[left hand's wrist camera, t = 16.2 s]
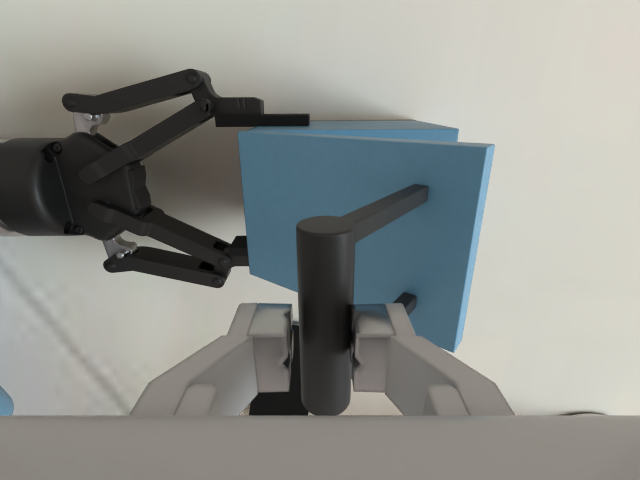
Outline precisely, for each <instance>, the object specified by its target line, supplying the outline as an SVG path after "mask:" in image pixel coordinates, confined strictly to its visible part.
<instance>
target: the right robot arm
mask: <svg viewBox="0 0 640 480" xmlns="http://www.w3.org/2000/svg"><path fill="white" fill-rule="evenodd" d="M190 93H192V95H193V97H194V100H195V102H193V103H192V104H190V105H189V106H187V107H185V108H184V109H182V110H180V111H179V112H177V113H175V114H174V115H172V116H171V117H169V118H167V119H166V120H164V121H162V122H161V123H159V124H157V125H156V126H154V127H152V128H151V129H149V130H148V131H146V132H144V133H143V134H141V135H139V136H138V137H136V138H134V139H133V140H131V141H129V142H127V143H125V144H123V145H121V146H117V145H116V144H114V143H113V142H111V141H110V140H108V139H106V138H105V137H103V136H102V135H100V134H99V133H97V127H98V126H99V125H101V124H106V123H107V122H108V121H109V119H110V113H122V112H126V111H130V110H134V109H137V108H141V107H144V106H148V105H151V104H155V103H158V102H162V101H166V100H169V99H173V98H176V97H180V96H183V95H187V94H190ZM62 103H63V106H64V107H65V108H66V109H67V110H68V111H71V112H73V116H74V123H75V130H76V133H73V134H72V135H70V136H69V137H67V138H18V139H12V140H10V139H6V138H0V236H23V235H27V236H74V235H87V236H91V237H94V238H96V239H98V240H102V241H103V244H104V246H105V249H106V252H107V255H108V257H109V258H108V259H107V260H106V261H104V263H103V266H104V268H105V270H106V271H108V272H111V273H115V272H124V271H137V272H142V273H147V274H152V275H156V276H161V277H166V278H171V279H176V280H181V281H185V282H190V283H195V284H200V285H205V286H210V287H214V288H220V287H222V286H223V285H224V283H225V281H226V279H227V277H228V276H229V274H230V271H231V268H232V267H234V266H249V258H248V246H247V236H236V237H235V239H234V241H233V242H232V244H230V243H227V242H225V241H223V240H221V239H219V238H216V237H214V236H212V235H210V234H208V233H205V232H203V231H201V230H199V229H197V228H194V227H192V226H190V225H188V224H186V223H183V222H181V221H179V220H177V219H175V218H173V217H170V216H168V215H166V214H165V213H164V212H163V211H162V210H161V209H159V208H157V207H155V206H152V205H150V204H151V199H150V194H149V192H148V190H147V187H146V185H145V183H146V172H145V166H141V164H140V161H142V160H143V159H145V158H147V157H149V156H150V155H152V154H153V153H154V152H156V151H157V150H159V149H161V148H162V147H164V146H166V145H167V144H169V143H171V142H172V141H174V140H176V139H178V138H179V137H181V136H183V135H184V134H186V133H188V132H189V131H191V130H193V129H194V128H196V127H198V126H199V125H201V124H203V123H204V122H206V121H208V120H210V119H211V118H213V117H215V122H216V127H257V126H309V124H310V114H264V103H263V100H261V99H258V98H254V97H241V98H222V97H220V96H218V95H217V94H216V93H215V91H214V89H213V87H212V85H211V79H210V77H209V75H208V74H207V73H205V72H202V71H198V70H194V69H187V70H183V71H180V72H176V73H173V74H170V75H166V76H163V77H159V78H156V79H152V80H149V81H145V82H142V83H138V84H135V85H131V86H128V87H124V88H121V89H117V90H114V91H111V92H107V93H104V94H100V95H95V94H74V93H68V94H65V95H64V96H63V98H62ZM125 230H127V231H129V232H132V233H134V234H136V235H139V236H149V237H151V238H153V239H156V240H158V241H160V242H163V243H165V244H167V245H169V246H172V247H174V248H176V249H178V250H181V251H183V252H185V253H187V254H190V255H192V256H190V255H185V254H181V253H176V252H171V251H167V250H162V249H157V248H152V247H144V246H139V247H137V243H135V242H128V241H125V240H123V239H122V238H121V237H120V235H119V234H121V233H122V232H123V231H125ZM13 409H14V405H13V401H12V398H11V397H10V396H9V395H8V394H7V393H6V391H5V390H4V389H3V388H2V387H1V386H0V416H12V414H13Z"/></svg>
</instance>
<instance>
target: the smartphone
mask: <svg viewBox="0 0 640 480" xmlns="http://www.w3.org/2000/svg"><path fill="white" fill-rule="evenodd" d="M292 329H293V359H292V363H291V378H290V386H289V392H257V393H258V394H257V395H256V397H255V398H254V399H253V400H252V401H251V405H250V412H249V416H308V412H309V411H308V410H307V409H306V408H305V407H304V405H303V403H302V398H301V368H300V338H299V323H295V322H292Z"/></svg>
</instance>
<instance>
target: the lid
mask: <svg viewBox="0 0 640 480" xmlns="http://www.w3.org/2000/svg"><path fill="white" fill-rule="evenodd" d="M238 143H239V155H240V166H241V178H242V189H243V200H244V212H245V223H246V235H247V246H248V258H249V269H250V274H251V275H254V276H257V277H259V278H262V279H264V280H267V281H270V282H272V283H275V284H277V285H280V286H282V287H285V288H288V289H290V290H293V291H295V292H298V307H299V338H300V368H301V398H302V403H303V405H304V407H305V408H306V409H307V410H308V411H309V412H310V413H312V414H314V415H316V416H336V415H339V414H340V413H342V412H343V411H344V410H345V409H346V408H347V407H348V405H349V403H350V394H351V379H352V363H350V355H349V334H350V331H351V324H350V307H351V304H387V303H402V304H403V306H404V308H405V310H406V313H407V315H408V318H409V320H410V322H411V325H412V327H413V329H414V332H415V334H416V336H422V337H424V338H425V339H427V340H428V341H430V342H432V343H433V344H435V345H436V346H438V347H440V348H443V349H445V350H448V351H450V352H453V353H454V352H455V350H456V349H457V347H458V345H459V344H460V342H461V340H462V335H463V329H464V323H465V317H466V312H467V306H468V300H469V294H470V288H471V282H472V276H473V271H474V265H475V259H476V253H477V247H478V241H479V235H480V229H481V224H482V218H483V212H484V206H485V200H486V194H487V188H488V182H489V177H490V171H491V165H492V159H493V153H494V147H495V145H494V144H482V143H465V142H447V141H430V140H412V139H395V138H377V137H360V136H343V135H325V134H308V133H290V132H273V131H255V130H250V131H239V132H238Z"/></svg>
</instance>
